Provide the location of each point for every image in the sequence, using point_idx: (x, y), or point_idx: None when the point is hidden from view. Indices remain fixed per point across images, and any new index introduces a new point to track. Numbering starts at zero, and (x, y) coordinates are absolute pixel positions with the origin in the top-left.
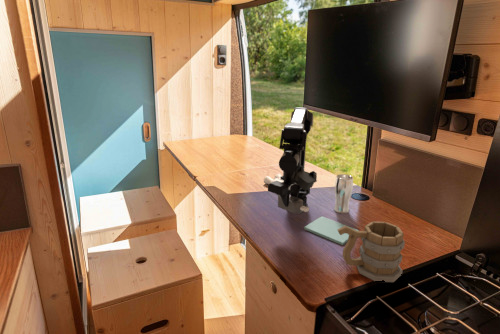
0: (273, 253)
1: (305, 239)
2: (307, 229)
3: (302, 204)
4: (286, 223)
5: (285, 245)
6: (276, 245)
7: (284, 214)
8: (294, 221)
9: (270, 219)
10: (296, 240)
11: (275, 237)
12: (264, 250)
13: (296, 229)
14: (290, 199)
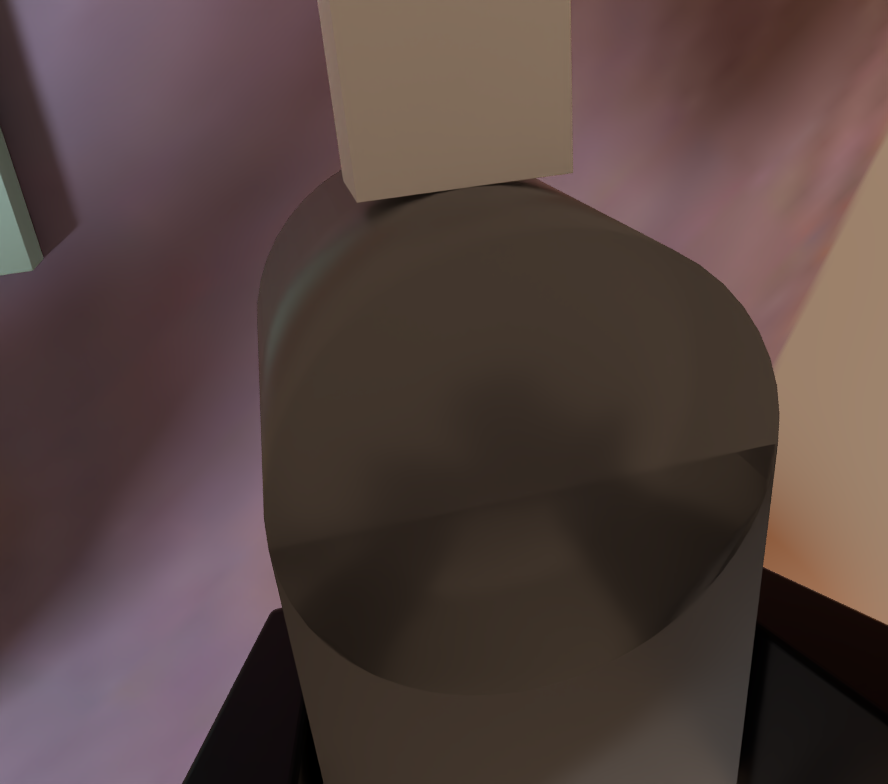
0: (836, 71)
1: (252, 17)
2: (18, 198)
3: (437, 215)
4: (170, 517)
5: (600, 105)
6: (675, 184)
7: (23, 700)
8: (21, 505)
9: None
10: None
11: None
12: (843, 194)
13: (159, 324)
14: (637, 689)
